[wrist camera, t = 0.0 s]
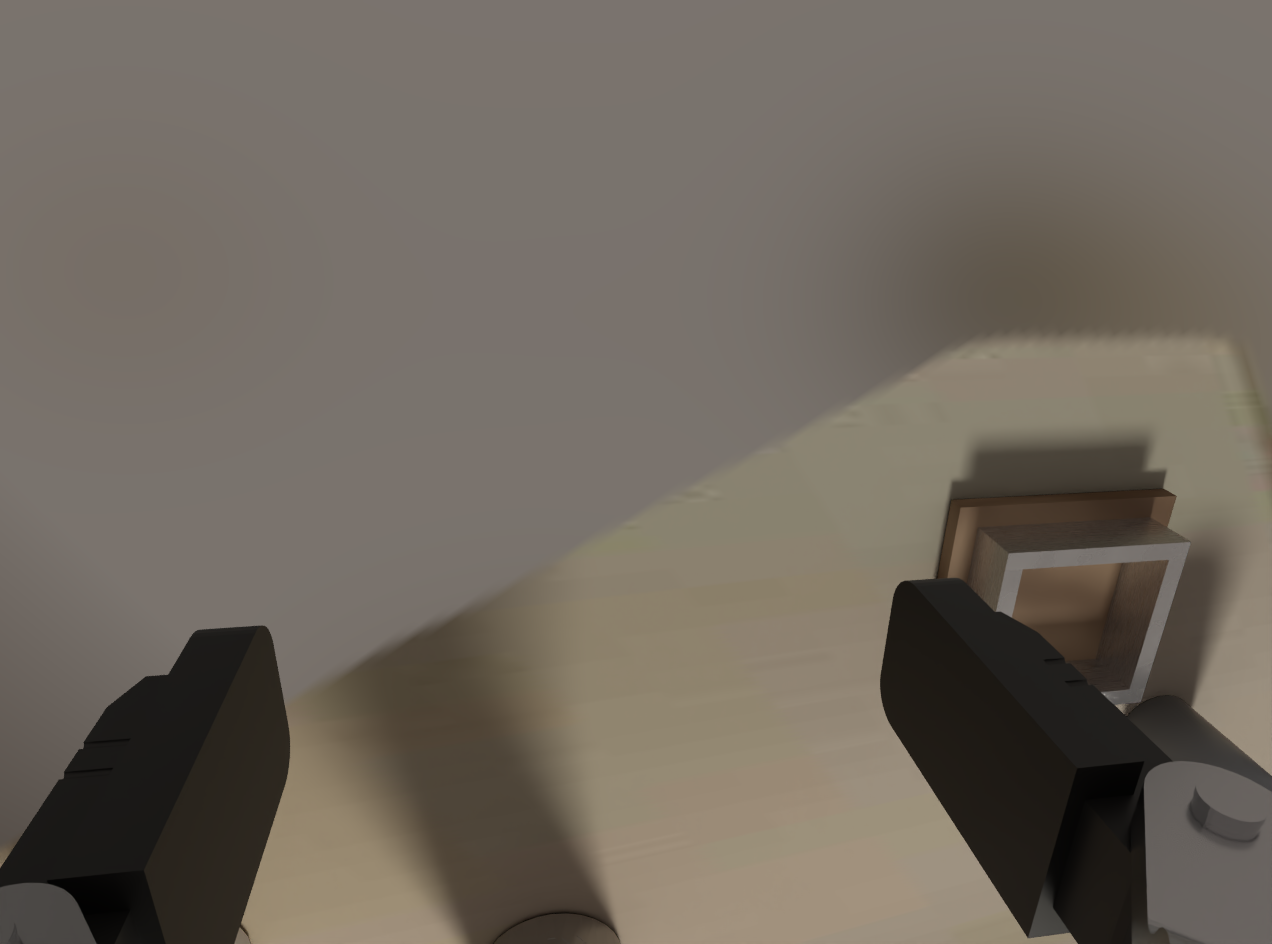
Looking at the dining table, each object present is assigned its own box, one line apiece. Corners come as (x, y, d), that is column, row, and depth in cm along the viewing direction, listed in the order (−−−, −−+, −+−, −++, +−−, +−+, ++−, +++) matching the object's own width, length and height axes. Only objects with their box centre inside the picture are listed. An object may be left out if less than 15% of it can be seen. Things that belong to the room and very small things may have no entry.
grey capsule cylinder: (1177, 752, 56) (1324, 890, 46) (1110, 759, 56) (1244, 900, 46) (1198, 692, 54) (1356, 822, 44) (1129, 698, 54) (1273, 832, 44)
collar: (1106, 670, 51) (1140, 702, 48) (946, 684, 49) (972, 717, 47) (1150, 517, 47) (1190, 541, 44) (978, 527, 45) (1008, 553, 43)
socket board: (1108, 675, 52) (1119, 685, 52) (916, 693, 51) (923, 703, 50) (1163, 488, 47) (1176, 496, 46) (951, 499, 46) (960, 507, 45)
